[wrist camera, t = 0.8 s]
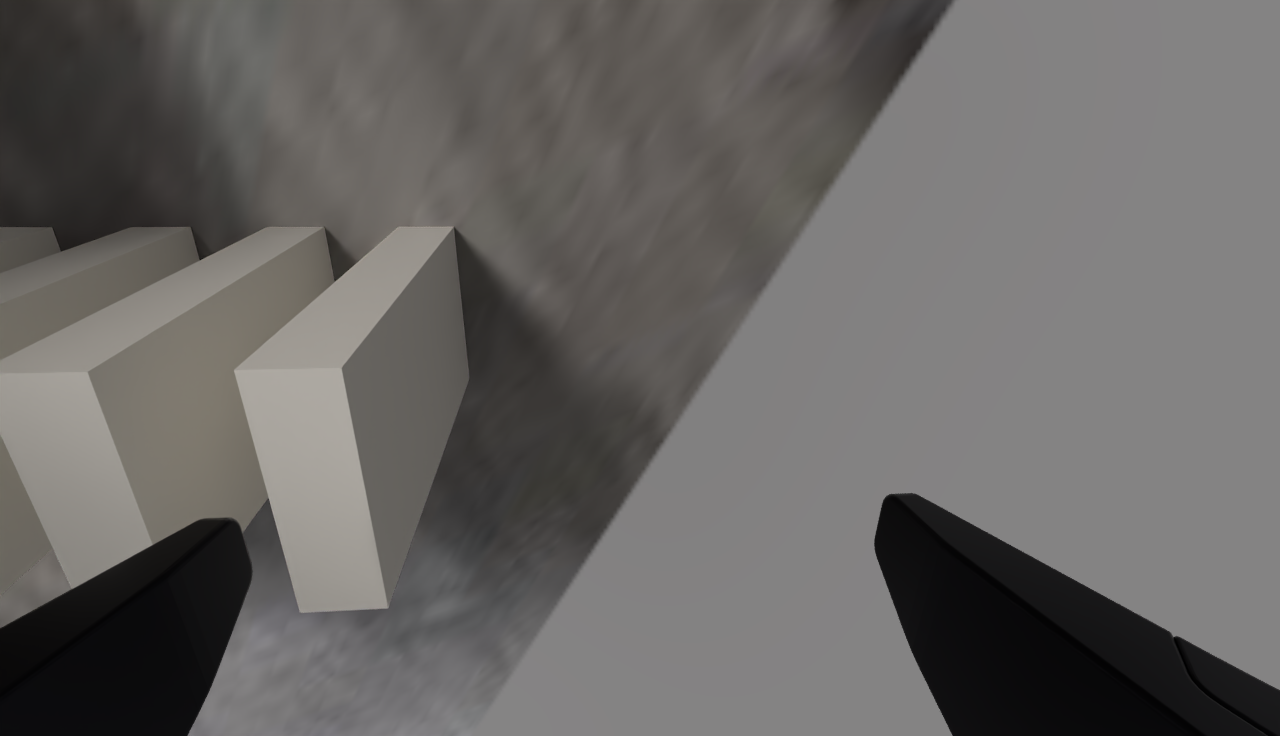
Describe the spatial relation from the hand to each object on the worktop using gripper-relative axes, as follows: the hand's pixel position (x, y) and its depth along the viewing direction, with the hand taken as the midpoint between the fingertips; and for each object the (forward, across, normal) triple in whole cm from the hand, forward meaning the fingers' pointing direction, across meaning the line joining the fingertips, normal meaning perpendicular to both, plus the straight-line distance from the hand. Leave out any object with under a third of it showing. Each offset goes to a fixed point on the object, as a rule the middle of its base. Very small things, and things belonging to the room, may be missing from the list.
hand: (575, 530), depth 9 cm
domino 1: (+12, +4, +1) cm, 13 cm away
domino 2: (+12, +8, +1) cm, 15 cm away
